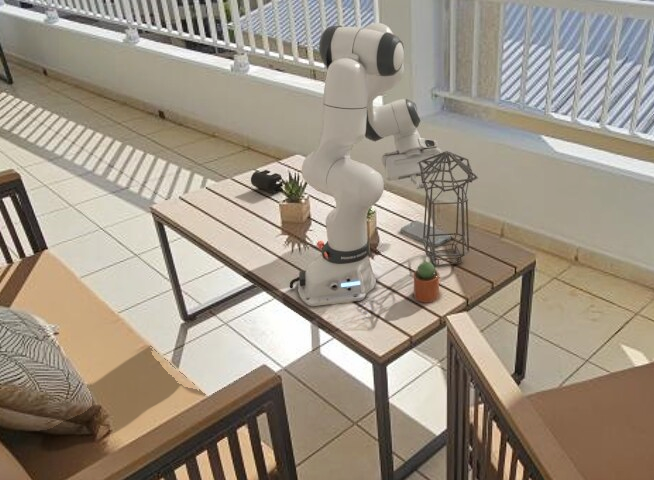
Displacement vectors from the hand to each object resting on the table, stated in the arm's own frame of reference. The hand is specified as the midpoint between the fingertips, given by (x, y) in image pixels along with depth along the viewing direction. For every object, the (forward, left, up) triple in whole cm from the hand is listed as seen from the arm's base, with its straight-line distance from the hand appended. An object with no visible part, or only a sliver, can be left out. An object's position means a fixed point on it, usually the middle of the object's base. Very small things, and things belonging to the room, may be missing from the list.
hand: (421, 188), depth 199 cm
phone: (-1, -4, -15) cm, 16 cm away
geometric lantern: (0, -20, -15) cm, 25 cm away
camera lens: (-43, +51, -15) cm, 68 cm away
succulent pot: (-13, -36, -15) cm, 41 cm away
